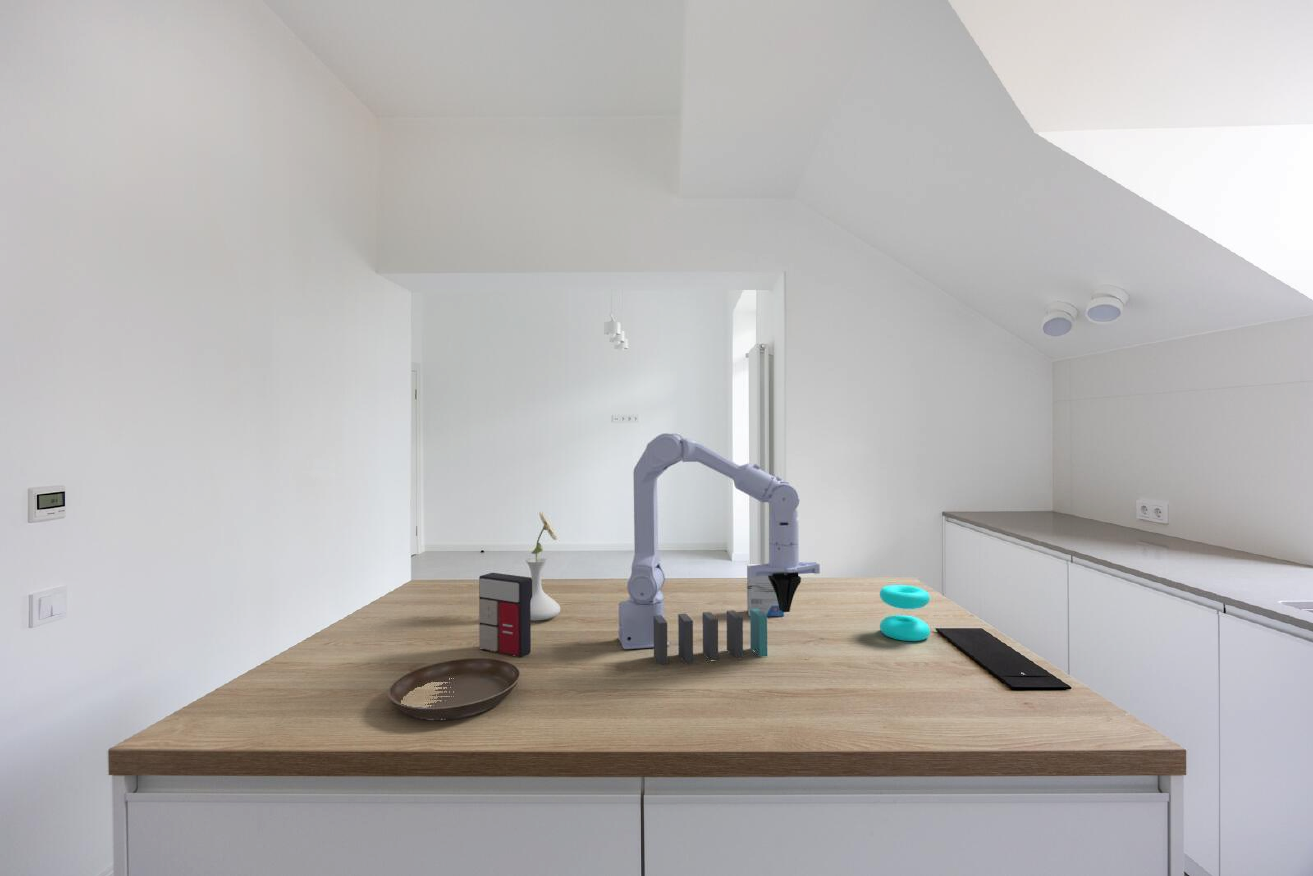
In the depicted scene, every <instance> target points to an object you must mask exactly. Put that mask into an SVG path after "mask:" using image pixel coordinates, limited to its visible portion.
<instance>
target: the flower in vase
mask: <svg viewBox="0 0 1313 876" xmlns="http://www.w3.org/2000/svg"><path fill="white" fill-rule="evenodd" d="M538 513H539V516H540V520H541V522H542V523H543V524H542V525H543V526H542V529H541V531H540V533H539V535H538V537H537V541H536V546H535V548H534V549H533V551H531V552H530V554H533V555H535V557H534V558H533V557H532V558H527V559H525V562H526V564H527V566H529V570H530V575H531V577H530V578H532V599H531V602H530V609H531V621H543V620H548V619H551V618H553V617H556V616H557V615H559V613H560V612H561V606H560V604H559V603H558V602H556V601H555V600H554V599H553V598H552V597H550V596H549V595H547V593H545V591H544V590H543V587H542V577H543V576H542V574H543V573H542V572H543V568H544V566H545V564H546V562H547V561H548V559H547V558H544V557H543V558H542V557H538V554H539V553H543V551H544V548H543V547H542V543H540V542H539V541H540V539H541V536H542V534H543V532H544V531H547V533H548V535H549V536H550V537H551V539H552V540H553V541H557V540H558V538H557V535H556V533H555V532H554V531H553V527H552V526H551V525H550V524H549V520H548V519H547V517H545V515H544V512H543V511H542V512H541V511H539V512H538Z"/></svg>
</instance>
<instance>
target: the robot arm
mask: <svg viewBox="0 0 1313 876" xmlns="http://www.w3.org/2000/svg"><path fill="white" fill-rule="evenodd" d="M679 462H682V463H688V462H689V463H696V462H697V463H699V464H702V465H703V466H706V467H708V468H709V469H712V470H713V471H716V472H718V473H720V474H722V475H724V476H726V477H727V478H728V479H729V478H730V479H732V480H733V484H734V487H735V489H737V490H739V491H740V492H742V493H743V494H747V496H750V497H751V498H753V499H755V500H757V501H759V502H760V503H768V505H769V507H770V519H769V520H768V521H769V522H768V523H769V524H768V526H769V527H768V528H769V530H768V531H769V534H768V535H769V540H768V541H769V563H764V564H763V563H762V564H761V563H760V564H761V565H754V566H748V575H749V576H750V577H752V578H753V577H757V576H768V578H769V580H770V582H771V584H772V586H773V588H774V591H775V593H776V597H777V600H778V604H779V610H781V611H782V612H784V613H790V611H791V607H792V603H793V598H794V596H795V593H796V591H797V589H798V587H799V585H800V584H801V581H802V577H801V576H799V575H802V574H803V575H804V574H805V575H806V574H815V575H817V574H820V569H821V566H820V563H818V562H816V561H813V562H811V561H810V562H808V561H807V562H803V561H802V562H801V561H799V557H800V555H799V552H800V551H799V520H798V517H799V513H798V510H797V508H798V506H799V504H800V499H799V494H798V492H797V490H796V488H795V487H794V486H793V485H791V484H790V483H789V482H788V481H782V478H781V477H780V476H778V475H777V476H776V477H775V476H774V475H772V474H770V473H768V472H766V471H764V470H763V469H761V466H760V465H759V464H757V463H754V465H752V464H751V463H745V464H742V465H739V464H738V463H736V462H734V461H732V460H730V459H729V458H727V457H726V456H724V455H721V454H720V453H719V452H716V451H715V450H713V449H711V448H709V447H708V446H706V445H704V444H702V443H700V442H698V441H696V440H693V439H689V438H687V437H683V436H682V435H680V434H677V433H668V432H667V433H661V434H659V435H657V436H656V437H654V438H653V439H652V440H651V441H649V442H648V443H647V444H646V447H645V449H644V451H643V452H642V455H641V456H640V457H639V460H638V461H637V462H636V464H635V467H634V469H633V473H632V474H633V529H634V535H633V536H634V537H633V538H634V541H633V542H634V543H633V544H634V555H633V560H632V563H631V574H630V577H629V579H628V581H627V585H626V589H627V592H628V594H629V599H627V600H621V601H619V603H618V640H619V642H620V645H621V646H622V648H623V650H635V649H637V650H638V649H646V648H647V649H648V648H654V616H656V615H662V616H663V618H664V619H665V600H664V599H665V597H664V595H663V593H662V591H661V589H662V588H663V587H664V586H665V582H666V576H665V572H664V571H663V567H662V565H661V564H662V563H661V557H660V553H659V531H658V529H659V526H658V525H659V523H658V522H659V521H658V518H659V517H658V516H659V515H658V512H659V511H658V478H659V477H660V476H661V475H662V474H663V473H665V472H666V471H667V469H668V468H670V467H671V466H673V465H675V464H678V463H679ZM669 646H670V642H669V641H668V640H667V647H669Z"/></svg>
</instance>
